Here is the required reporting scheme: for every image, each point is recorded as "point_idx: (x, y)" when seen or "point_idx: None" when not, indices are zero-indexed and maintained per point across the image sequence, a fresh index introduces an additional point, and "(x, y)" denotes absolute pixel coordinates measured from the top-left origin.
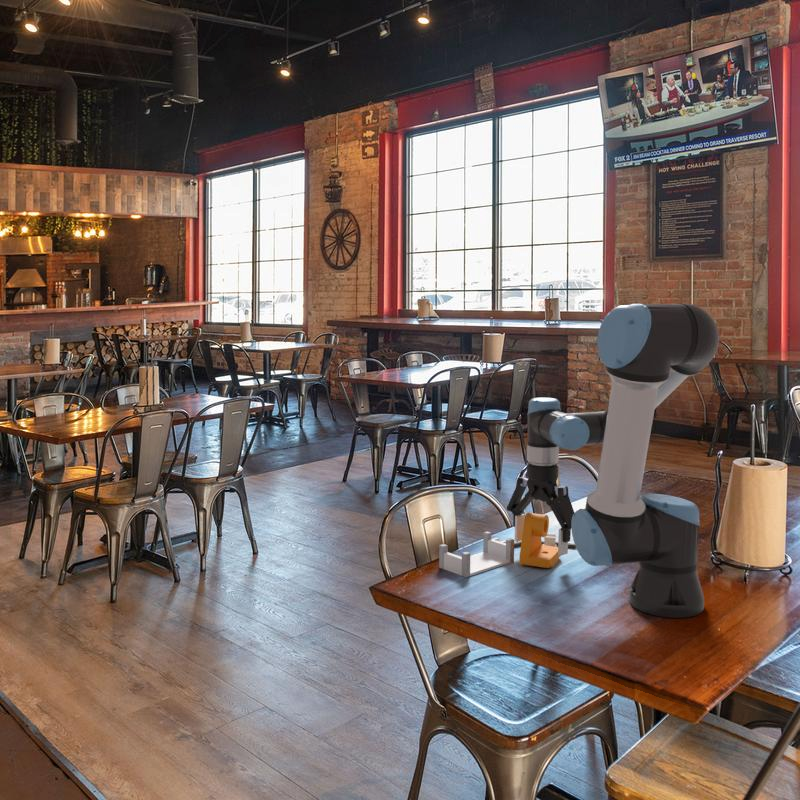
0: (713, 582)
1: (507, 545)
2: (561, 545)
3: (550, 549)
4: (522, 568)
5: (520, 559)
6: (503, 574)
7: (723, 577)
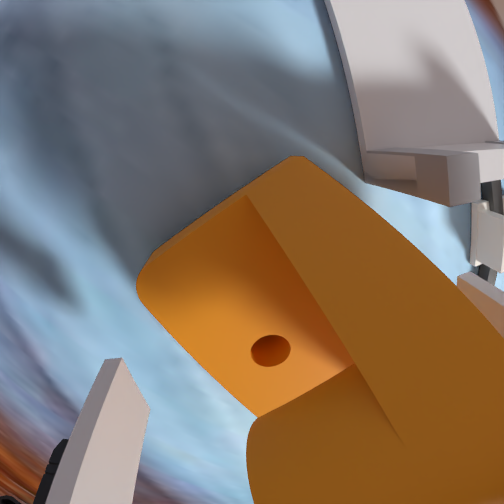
0: (9, 480)
1: (439, 151)
2: (86, 412)
3: (294, 394)
4: (252, 152)
5: (292, 160)
6: (226, 9)
7: (32, 499)
